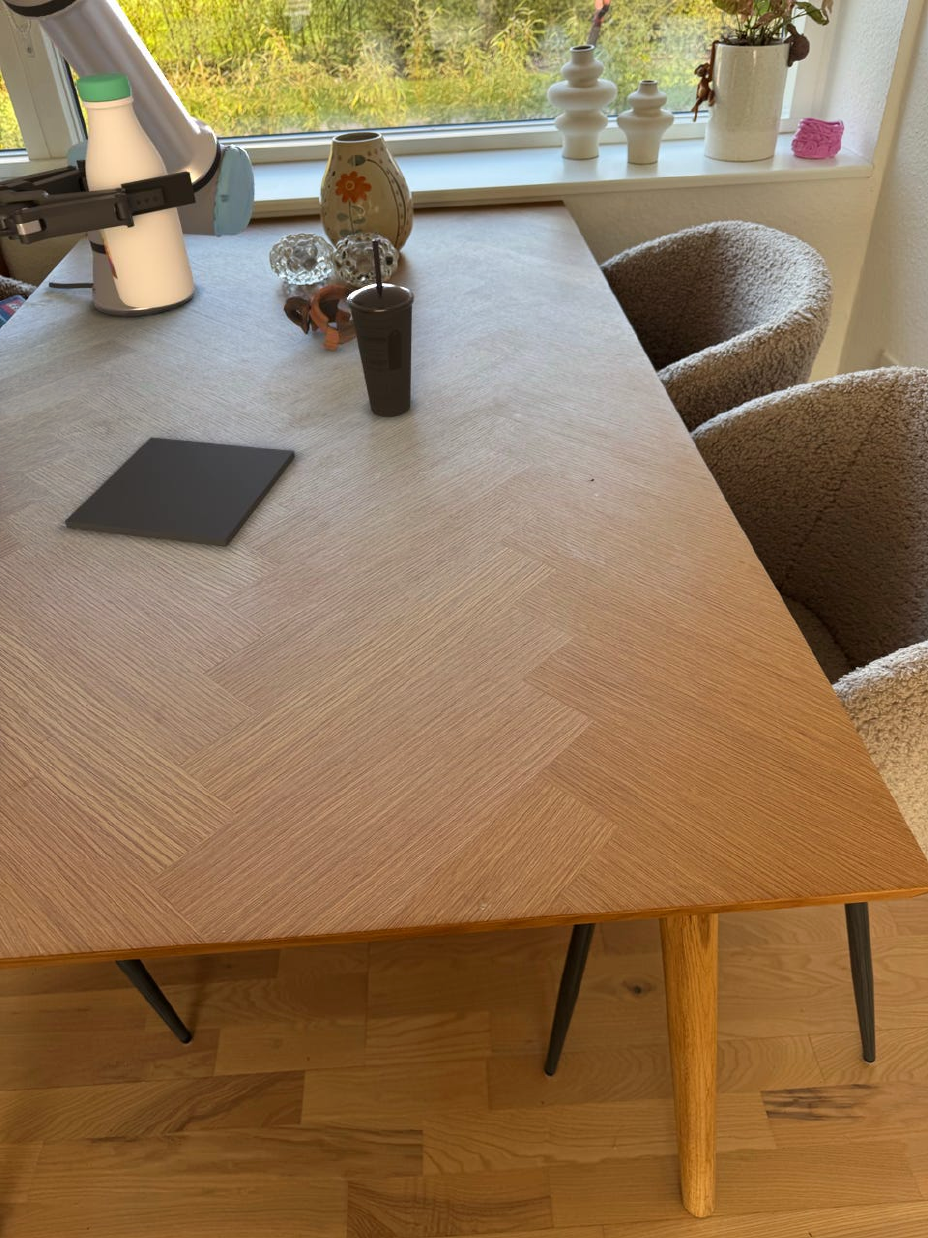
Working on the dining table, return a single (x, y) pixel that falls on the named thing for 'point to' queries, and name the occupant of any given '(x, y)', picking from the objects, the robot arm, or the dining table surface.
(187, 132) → the robot arm
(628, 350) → the dining table surface
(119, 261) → the milk bottle
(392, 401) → the drinking cup
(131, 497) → the slate mat
